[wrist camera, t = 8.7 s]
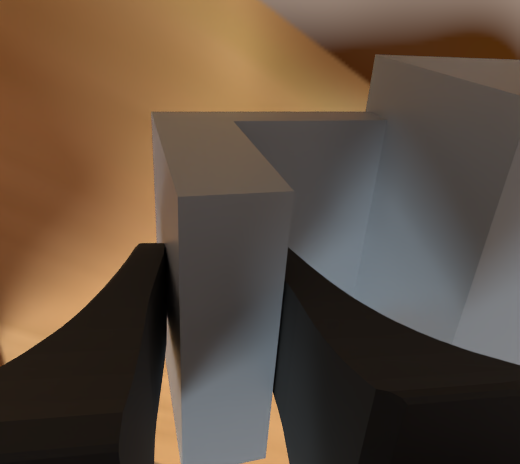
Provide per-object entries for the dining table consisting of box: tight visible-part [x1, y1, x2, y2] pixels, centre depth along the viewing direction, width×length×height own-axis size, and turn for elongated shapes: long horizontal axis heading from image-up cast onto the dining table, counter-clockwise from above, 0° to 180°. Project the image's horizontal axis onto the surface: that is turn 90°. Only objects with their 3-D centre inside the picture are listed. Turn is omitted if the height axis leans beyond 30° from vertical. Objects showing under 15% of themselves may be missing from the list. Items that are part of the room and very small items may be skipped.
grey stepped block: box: [151, 54, 520, 464], centre depth 14 cm, size 17×10×6 cm, turn 86°
